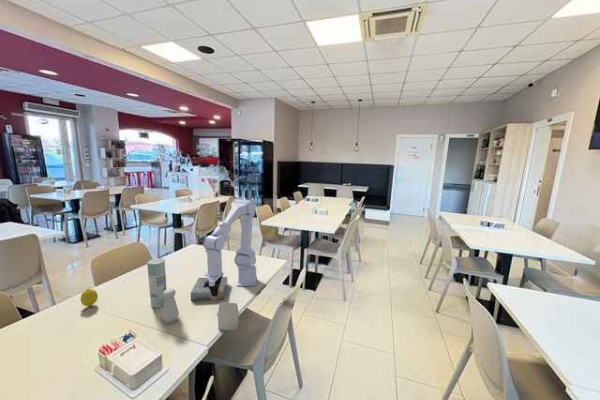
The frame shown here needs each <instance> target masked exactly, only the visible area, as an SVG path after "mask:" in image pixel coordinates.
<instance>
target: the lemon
mask: <svg viewBox="0 0 600 400" xmlns="http://www.w3.org/2000/svg"><path fill="white" fill-rule="evenodd" d="M98 298H99V297H98V293H97V291H96V290H95V289H93V288H87V289H85V290H84V291H83V292H82V293H81V295H80V303H81V304H82V306H85V307H92V306H93V305H94V304H96V302H97V301H98Z"/></svg>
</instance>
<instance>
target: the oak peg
mask: <svg viewBox="0 0 600 400" xmlns="http://www.w3.org/2000/svg"><path fill="white" fill-rule="evenodd" d="M217 281H219V280H217ZM220 297H221V288H220V285H219V289H218V295H217V296H214V297H212V295H211V299H212V300H211V301H218V300H217V299H219V298H220Z"/></svg>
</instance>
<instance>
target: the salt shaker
mask: <svg viewBox="0 0 600 400" xmlns="http://www.w3.org/2000/svg"><path fill="white" fill-rule="evenodd" d="M166 289H167V290H165V291H164V292H163V297H164V298H165V301H164V306H163V310H162V320H163V321H164V322H165V323H166V324H173V323H175V322H176V321H177V320H178V318H179V315H180V311H179V308H178V305H177V302H176V299H175V296H176V290H175V289H174V288H166Z"/></svg>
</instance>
